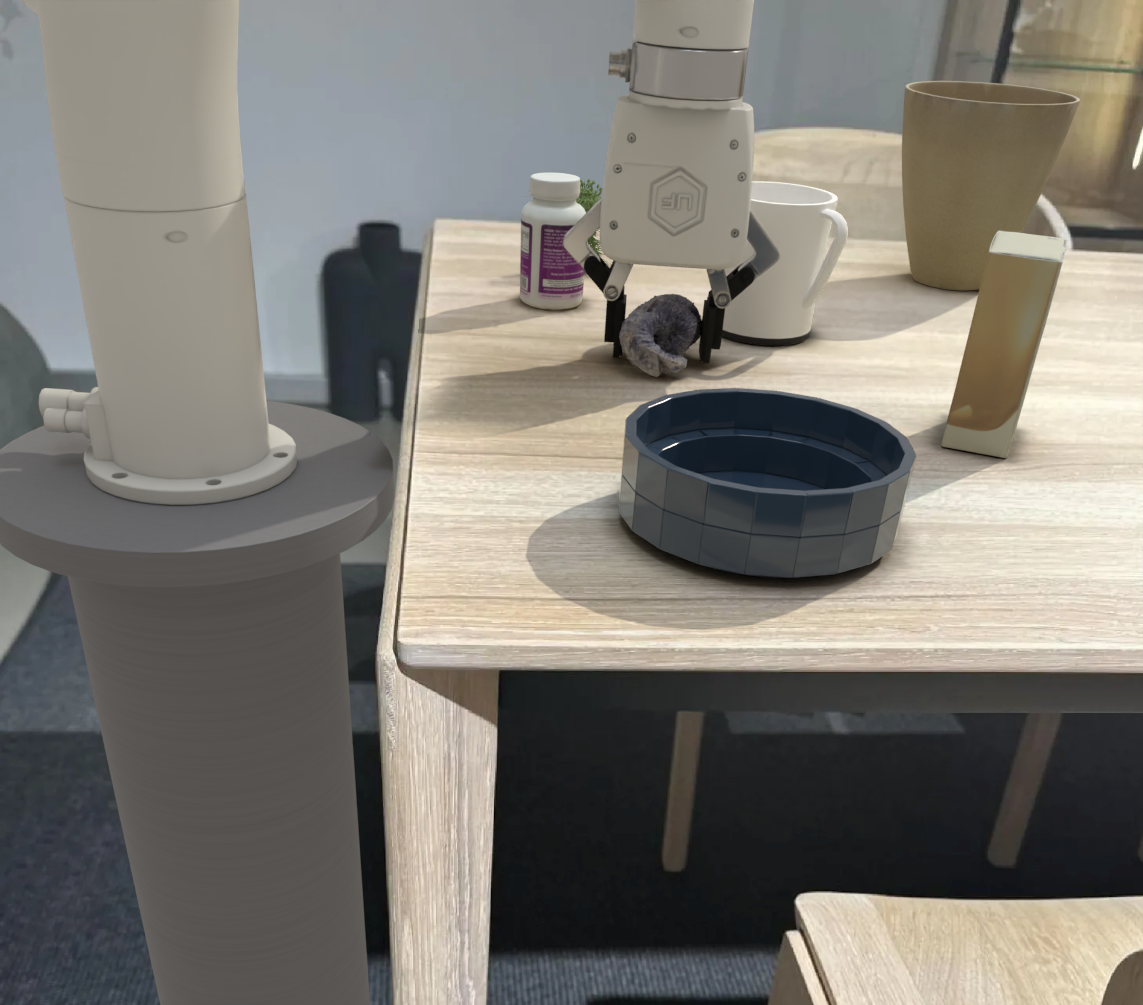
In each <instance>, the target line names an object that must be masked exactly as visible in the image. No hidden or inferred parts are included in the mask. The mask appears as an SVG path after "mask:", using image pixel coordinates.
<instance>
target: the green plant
mask: <svg viewBox="0 0 1143 1005" xmlns="http://www.w3.org/2000/svg"><path fill="white" fill-rule="evenodd" d="M594 185H596V181H595V180H592V181H591V179H590V178H587V180H586V181H585V179H584V180H583V179H582V178H580V194H579V197H578V198H577V199H576V203H578V204H580V205H581V206H582V207H583V208H584V210H585V212H586V213H587V212H588V211H589V210H590V209H591V208H592V207H593V206H594V205H595V204H596V203H597V202H598V201H599V200H600V199H601V198H602V192H603V187H600V184H599V183H598V184H597V185H596V186H595V187H593V186H594ZM594 189H595V190H594ZM518 197H520V196H518ZM521 197H532V198H533V196H531V195H530V196H521ZM597 232H598V233H600V228H599V229H598V230H597V231H596V232H595V233H594V234H593V235H592V236H591V237H590V238H589V239H588V244H589V245H590V246H591V247H592V249H593V250H594V251H595V253H597V254H598V255H599V256H600V257H601V258H602V257H603V256H605V255H604V253H603V252H602V249H601V246H600V237H599V238H598V236H599V234H598V233H597ZM602 259H603V261H604V262H605V263H607V260H605V259H604V258H602Z"/></svg>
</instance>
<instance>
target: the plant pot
mask: <svg viewBox="0 0 1143 1005" xmlns="http://www.w3.org/2000/svg"><path fill="white" fill-rule="evenodd" d="M1080 102H1081V99H1080V98H1079V97H1078V96H1076V95H1073V94H1069V93H1066V92H1062V91H1057V90H1053V89H1052V90H1051V89H1046V88H1041V87H1040V88H1039V87H1033V86H1026V85H1025V86H1024V85H1017V84H1007V83H997V82H996V83H994V82H981V81H979V82H978V81H965V80H964V81H963V80H962V81H961V80H926V81H924V80H923V81H915V82H910V83H907V84H906V85H905V86H904V95H903V112H902V113H903V114H902V133H901V134H902V135H901V183H902V184H901V185H902V186H901V187H902V188H901V189H902V208H903V220H904V231H905V237H906V238H905V239H906V240H905V241H906V249H907V256H908V262H909V270H910V274H911V278H912V279H913V280H914V281H915V282H917V283H920V284H921V285H924V286H927V287H931V288H937V289H941V290H950V291H979V290H980V286H981V281H982V277H983V273H984V269H985V265H986V261H987V257H988V253H989V249H990V246H991V243H992V240H993V238H994V236H995V234H996V233H997V232H998V231H1006V232H1018V233H1023V231H1024V229H1025V227H1026V225H1027V223H1028V222H1029V219H1030V217H1031V215H1032V213H1033V212H1034V210H1035V207H1036V205H1037V203H1038V202H1039V199H1040V198H1041V195H1042V193H1043V191H1044V189H1045V187H1046V185H1047V182H1048V180H1049V179H1050V176H1051V174H1052V172H1053V170H1054V167H1055V165H1056V164H1057V161H1058V157H1059V156H1060V153H1061V151H1062V148H1063V146H1064V143H1065V141H1066V138H1067V135H1068V133H1069V130H1070V128H1071V126H1072V122H1073V120H1074V117H1075V115H1076V112H1077V110H1078V107H1079V105H1080Z"/></svg>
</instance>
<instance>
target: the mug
mask: <svg viewBox="0 0 1143 1005" xmlns="http://www.w3.org/2000/svg"><path fill="white" fill-rule="evenodd" d="M838 201H839V198H838V196H837V195H836V193H835V194H834V193H833V192H830V191H828V190H825V189H821V188H819V187H813V186H809V185H805V184H804V185H802V184H798V183H789V182H778V181H766V180H765V181H761V180H752V192H751V204H750V210H751V212H752V213H753V214H754V216H755V217H756V219H757V220H758V221H759V223H760V224H761V226H762V227H763V229H764V230H765V231H766V233H767V234H768V236H769V237H770V239H771V240H772V241H773V243H774V244H775V246H776V247H777V249H778V251H779V254H780V258H779V260H778V261H777V263H775V264H774V265H773V266H772V267H770V268H769V269H768V270H767V271H765V272H764V273H763V274H762V275H761V276H759V277H757V278H756V279H755V280H754V281H753V283H752V284H751V285H749V286H748V287H747V288H746V289H745V290H744V291H742V292H741V293H740V294H739V295H738V296H737V297H735V298H734V299H733V300H732V301H731V303H730V305H729V306H728V307H726V308H725V314H724V322H723V331H722V338H725V339H727V340H730V341H734V342H738V343H742V344H748V345H754V346H755V345H756V346H771V347H780V346H781V347H782V346H792V345H795V344H796V345H797V344H800V343H802V342H804V341H806V340H807V338H808V337H809V336H810V334H811V329H812V324H813V318H814V315H815V314H814V313H815V308H816V303H817V300H818V299H819V297H820V296H821V295H822V294H823V291H824V289H825V288H826V285H827V283H828V281H829V279H830V277H831V275H832V273H833V271H834V269H835V267H836V265H837V262H838V261H839V258H840V256H841V253H842V252H843V250H844V248H845V246H846V244H847V240H848V237H849V229H848V222H847V220H846V219H845V218H844V216H843V215H842V214H841V213H839V212H838V211H837V206H838V203H839V202H838ZM832 225H833V226H834V230H835V232H834V237H833V240H832V242H831V244H830V246H829V248H828V250H827V246H828V242H829V237H830V233H831V229H832ZM826 251H827V252H826ZM753 253H754V248H753V247H752V245H751V244H750V242H749V241H748V240H747V241H746V246H745V251H744V255H743V258H742V260H741V261H740V262H739V263H738V264H737V265H735V266H733V267H730V268H726V269H725V273H726V276H727V275H729V274H730V273H731V272H732V271H733V270H734V269H735V268H737V267H738V266H739V265H740V264H742V263H744V262H746V261H747V260H748V259H749V258H750V257H751V256H752V255H753Z"/></svg>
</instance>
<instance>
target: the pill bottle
mask: <svg viewBox="0 0 1143 1005" xmlns="http://www.w3.org/2000/svg"><path fill="white" fill-rule="evenodd" d="M529 177H530V178H529V179H530V180H529V193H530V196H533V197H532V200H530V201H527V203H526V204H525V205H524V206H523V208H522V210H521V214H520V215H521V216H520V259H519V260H520V264H519V267H520V268H519V272H520V273H519V297H520V300H521V301H522V302H523V303H524V304H525V305H528V306H530V307H533V308H537V309H541V310H567V309H572V308H575V307H578V306H579V305H580V304H581V303H582V302H583V298H584V286H585V285H584V284H585V270H584V269H583V267H582V266H581V265H580V264H578V262H577V261H576V260H575V259H574V258H573V257H572V256H571V255H570V253H569V252H568V251H567V250H566V249H565V248H564V246H563V239H564V236H565V234H566V233H567V232H568V231H569V230H570V229H571V228H572V227H573V226H574V225H575V224H576V223H577V222H578V221H579V220H580V219H581V218H582V217H583V216H584V215H585V214H586V212H585V210H584V208H583V207H582V206H581V205H580V204H578V203H576V199H577V198H578V197H579V194H580V184H581V183H580V179H581V178H580V177H579V176H578V175H575V174H570V173H564V172H537V173H533V174H531V175H530V176H529Z"/></svg>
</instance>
